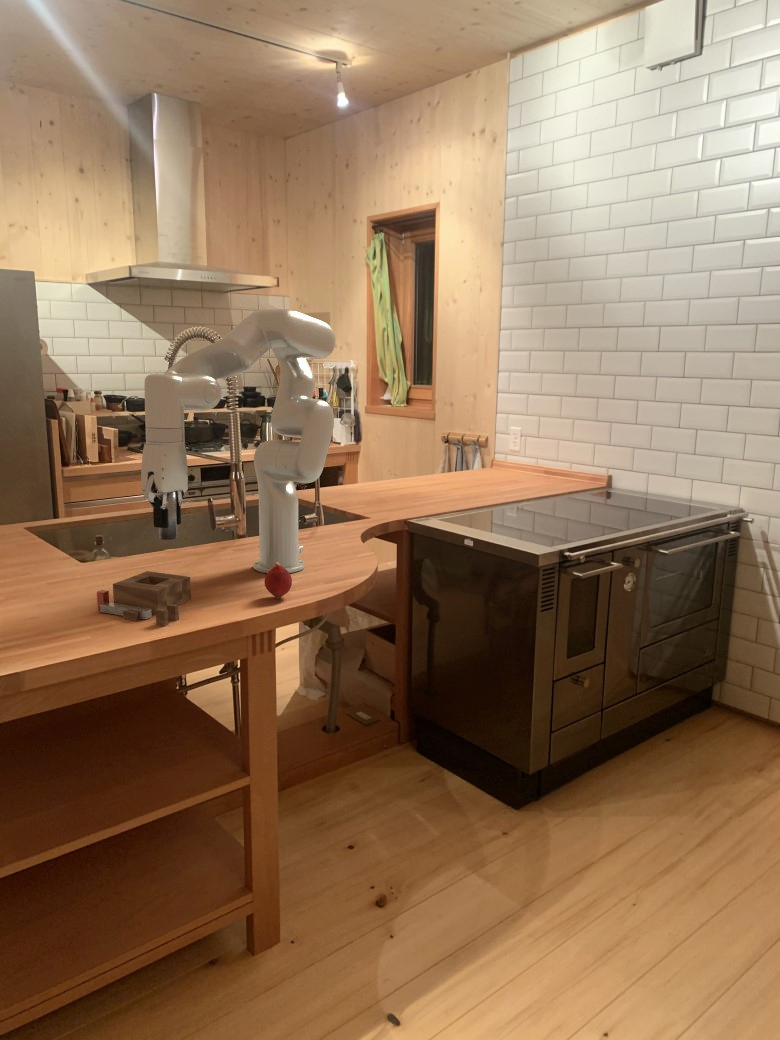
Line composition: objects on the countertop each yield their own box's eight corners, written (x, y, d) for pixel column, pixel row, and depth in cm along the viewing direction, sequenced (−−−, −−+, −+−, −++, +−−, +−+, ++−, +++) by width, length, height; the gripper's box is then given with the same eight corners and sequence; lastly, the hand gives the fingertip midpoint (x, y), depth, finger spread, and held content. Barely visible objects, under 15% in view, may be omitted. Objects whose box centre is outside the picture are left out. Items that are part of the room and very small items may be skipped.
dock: (148, 593, 168) (147, 571, 167) (212, 602, 163) (212, 579, 162) (96, 614, 154) (94, 590, 153) (164, 626, 148) (163, 601, 147)
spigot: (166, 535, 161) (164, 488, 159) (180, 537, 160) (179, 489, 158) (155, 538, 158) (154, 490, 156) (170, 540, 157) (169, 491, 155)
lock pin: (103, 608, 157) (102, 589, 156) (151, 616, 153) (150, 596, 152) (97, 611, 155) (96, 592, 154) (145, 619, 151) (144, 599, 150)
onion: (293, 594, 170) (292, 559, 168) (290, 602, 164) (290, 566, 162) (266, 594, 169) (266, 558, 168) (263, 602, 164) (262, 565, 162)
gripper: (173, 432, 164) (175, 517, 167) (123, 438, 149) (126, 531, 152) (204, 434, 162) (205, 520, 165) (155, 440, 146) (158, 534, 150)
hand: (167, 524), depth 158 cm, fingers closed on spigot, 3 cm apart
